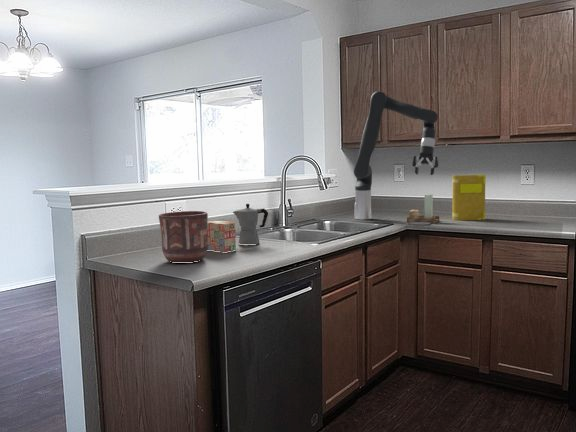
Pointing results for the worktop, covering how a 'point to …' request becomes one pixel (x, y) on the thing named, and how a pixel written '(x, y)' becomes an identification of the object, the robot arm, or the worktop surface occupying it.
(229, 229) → the stack of blocks
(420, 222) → the mat
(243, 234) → the coffeepot
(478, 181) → the book
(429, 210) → the slat
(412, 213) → the offcut top
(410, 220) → the rack
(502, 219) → the worktop surface
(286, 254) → the worktop surface
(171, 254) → the pottery
